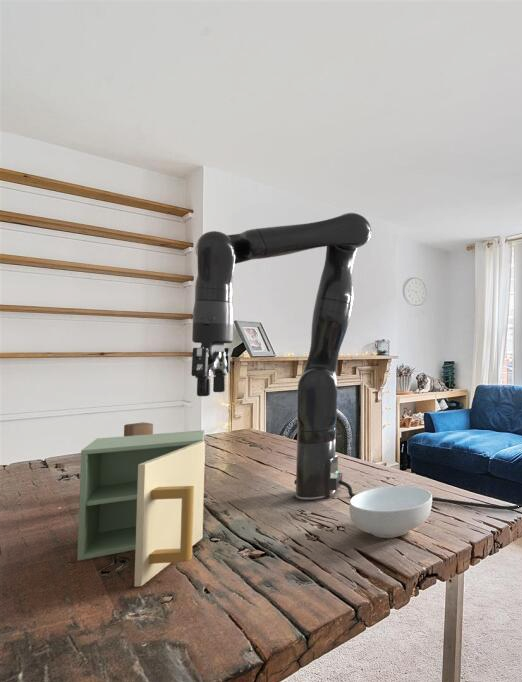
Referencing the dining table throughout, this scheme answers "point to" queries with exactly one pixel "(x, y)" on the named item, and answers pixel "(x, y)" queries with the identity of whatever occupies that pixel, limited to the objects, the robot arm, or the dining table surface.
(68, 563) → the dining table surface
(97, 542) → the cupboard
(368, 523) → the cereal bowl
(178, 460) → the cupboard door
